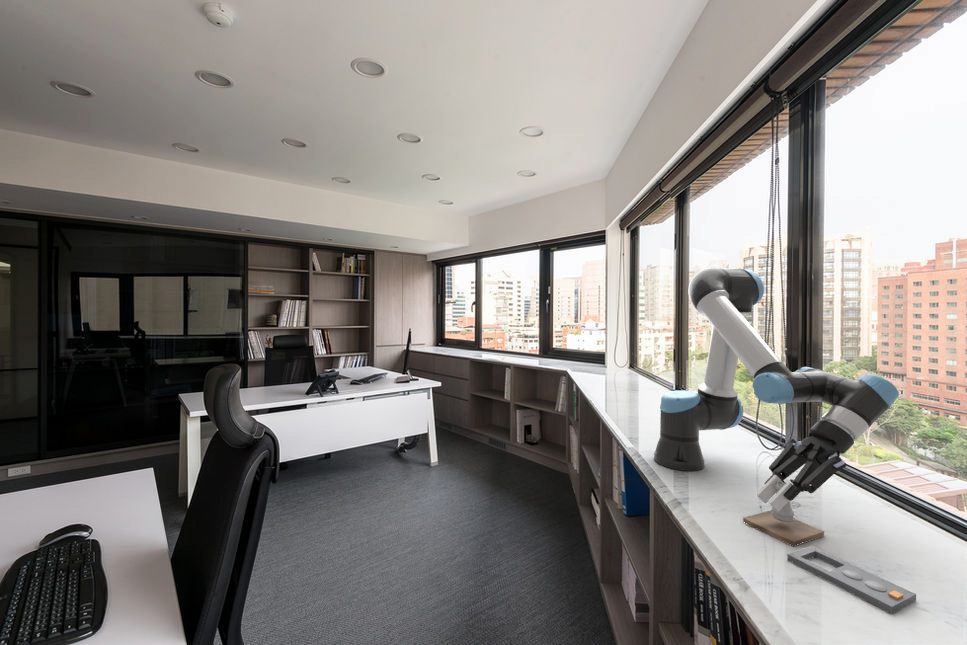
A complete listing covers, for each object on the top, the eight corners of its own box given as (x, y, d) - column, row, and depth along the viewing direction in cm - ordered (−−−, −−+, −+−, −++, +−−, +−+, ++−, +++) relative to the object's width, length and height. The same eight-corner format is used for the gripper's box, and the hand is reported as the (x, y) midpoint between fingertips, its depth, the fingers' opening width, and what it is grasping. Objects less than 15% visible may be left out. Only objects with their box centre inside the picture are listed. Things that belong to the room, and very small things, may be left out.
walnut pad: (743, 522, 97) (743, 517, 97) (772, 513, 101) (772, 509, 101) (793, 546, 87) (793, 541, 87) (823, 535, 91) (824, 531, 91)
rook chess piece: (788, 524, 91) (789, 489, 91) (766, 515, 95) (767, 481, 95) (798, 520, 93) (799, 485, 93) (777, 511, 97) (778, 478, 97)
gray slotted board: (787, 560, 82) (787, 552, 82) (811, 551, 85) (811, 543, 85) (891, 613, 67) (892, 604, 67) (915, 600, 71) (916, 591, 71)
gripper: (884, 453, 87) (807, 533, 86) (816, 431, 103) (752, 498, 102) (861, 429, 86) (784, 508, 86) (797, 410, 102) (732, 477, 102)
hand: (766, 502), depth 94 cm, fingers closed on rook chess piece, 3 cm apart
